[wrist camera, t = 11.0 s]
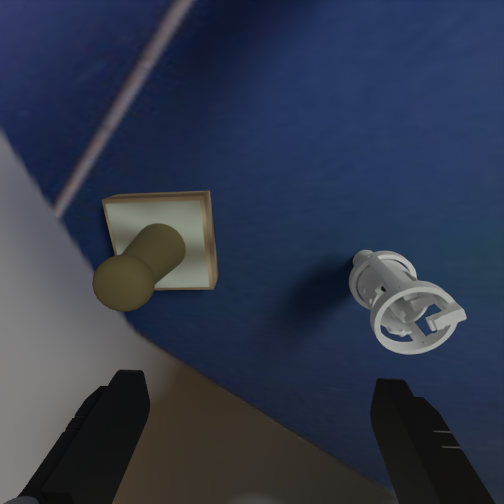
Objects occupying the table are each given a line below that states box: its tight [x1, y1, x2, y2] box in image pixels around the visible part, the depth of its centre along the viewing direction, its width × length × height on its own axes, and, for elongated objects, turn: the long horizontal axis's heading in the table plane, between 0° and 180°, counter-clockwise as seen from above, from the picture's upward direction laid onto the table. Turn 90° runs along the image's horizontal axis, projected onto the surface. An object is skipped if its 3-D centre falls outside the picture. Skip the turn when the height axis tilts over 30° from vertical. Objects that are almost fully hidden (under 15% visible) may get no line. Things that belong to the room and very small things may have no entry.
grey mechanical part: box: [349, 250, 466, 354], centre depth 30 cm, size 7×7×15 cm
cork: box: [93, 223, 186, 311], centre depth 29 cm, size 6×6×11 cm
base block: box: [102, 191, 218, 290], centre depth 36 cm, size 12×12×4 cm
